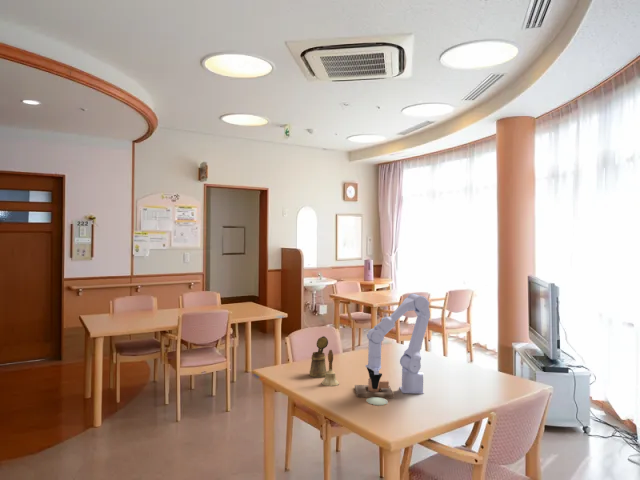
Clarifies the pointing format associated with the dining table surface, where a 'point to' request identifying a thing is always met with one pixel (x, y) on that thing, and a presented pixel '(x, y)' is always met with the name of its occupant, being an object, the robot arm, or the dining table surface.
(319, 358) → the wooden mug
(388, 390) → the walnut stand
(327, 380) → the hand bell
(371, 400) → the sage mat
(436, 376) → the dining table surface
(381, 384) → the peach rounded piece
